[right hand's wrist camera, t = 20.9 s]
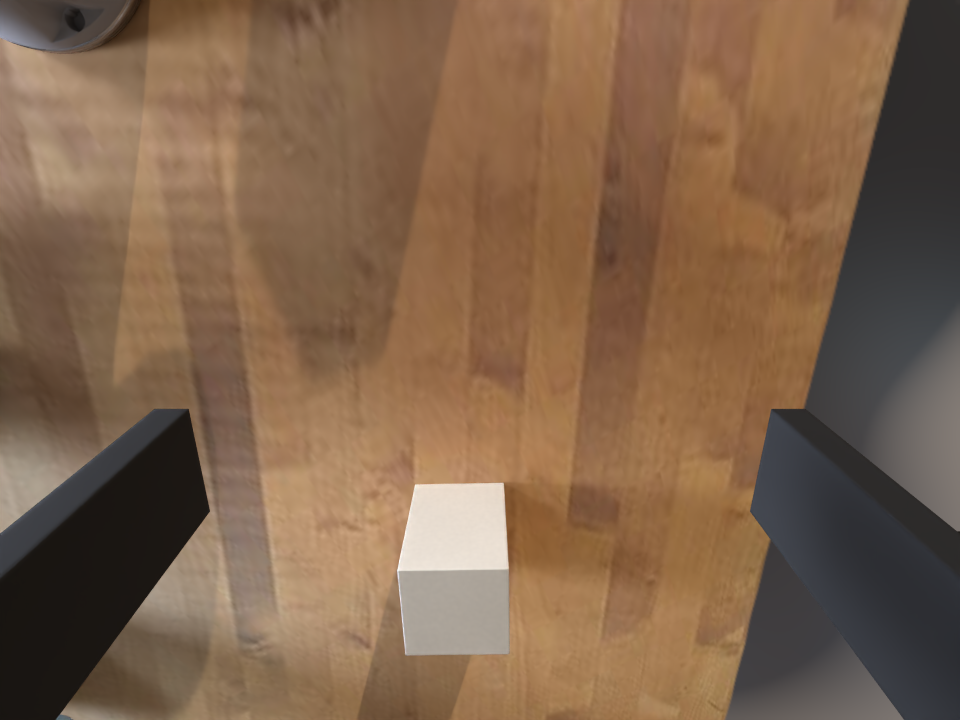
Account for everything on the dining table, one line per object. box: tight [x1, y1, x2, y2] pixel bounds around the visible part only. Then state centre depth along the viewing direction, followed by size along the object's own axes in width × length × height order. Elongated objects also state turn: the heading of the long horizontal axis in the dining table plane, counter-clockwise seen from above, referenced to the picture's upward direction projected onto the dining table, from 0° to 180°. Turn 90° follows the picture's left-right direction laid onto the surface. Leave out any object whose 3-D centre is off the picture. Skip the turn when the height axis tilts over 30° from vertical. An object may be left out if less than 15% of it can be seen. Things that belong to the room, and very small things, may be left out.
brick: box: [398, 483, 510, 655], centre depth 49 cm, size 9×8×12 cm
